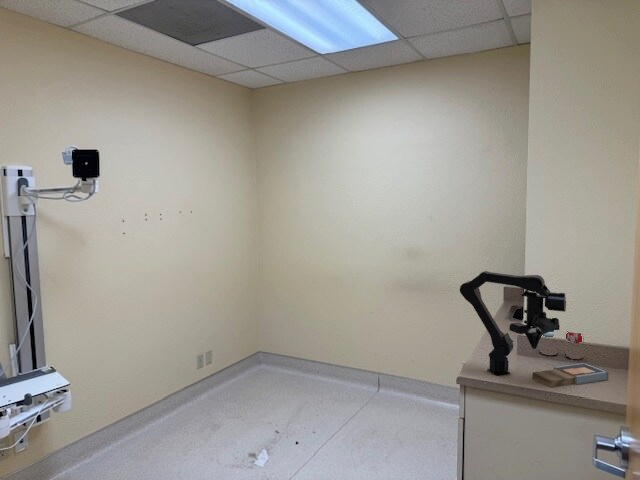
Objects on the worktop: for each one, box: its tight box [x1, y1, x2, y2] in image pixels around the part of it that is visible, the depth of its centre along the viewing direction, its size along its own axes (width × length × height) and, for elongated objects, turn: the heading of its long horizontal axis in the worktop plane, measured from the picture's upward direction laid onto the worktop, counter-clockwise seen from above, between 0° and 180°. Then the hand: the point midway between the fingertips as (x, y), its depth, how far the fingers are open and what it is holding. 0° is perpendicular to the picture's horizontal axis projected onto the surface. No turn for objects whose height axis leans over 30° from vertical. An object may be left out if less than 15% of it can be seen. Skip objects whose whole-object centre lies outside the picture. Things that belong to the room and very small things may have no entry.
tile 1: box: [562, 368, 584, 377], centre depth 170 cm, size 5×5×2 cm
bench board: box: [532, 368, 576, 388], centre depth 167 cm, size 11×9×2 cm
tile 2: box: [575, 367, 595, 375], centre depth 171 cm, size 5×5×2 cm
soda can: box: [565, 330, 582, 344], centre depth 192 cm, size 7×7×12 cm
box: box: [553, 362, 609, 386], centre depth 171 cm, size 15×11×3 cm
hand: (534, 348), depth 169 cm, fingers closed
